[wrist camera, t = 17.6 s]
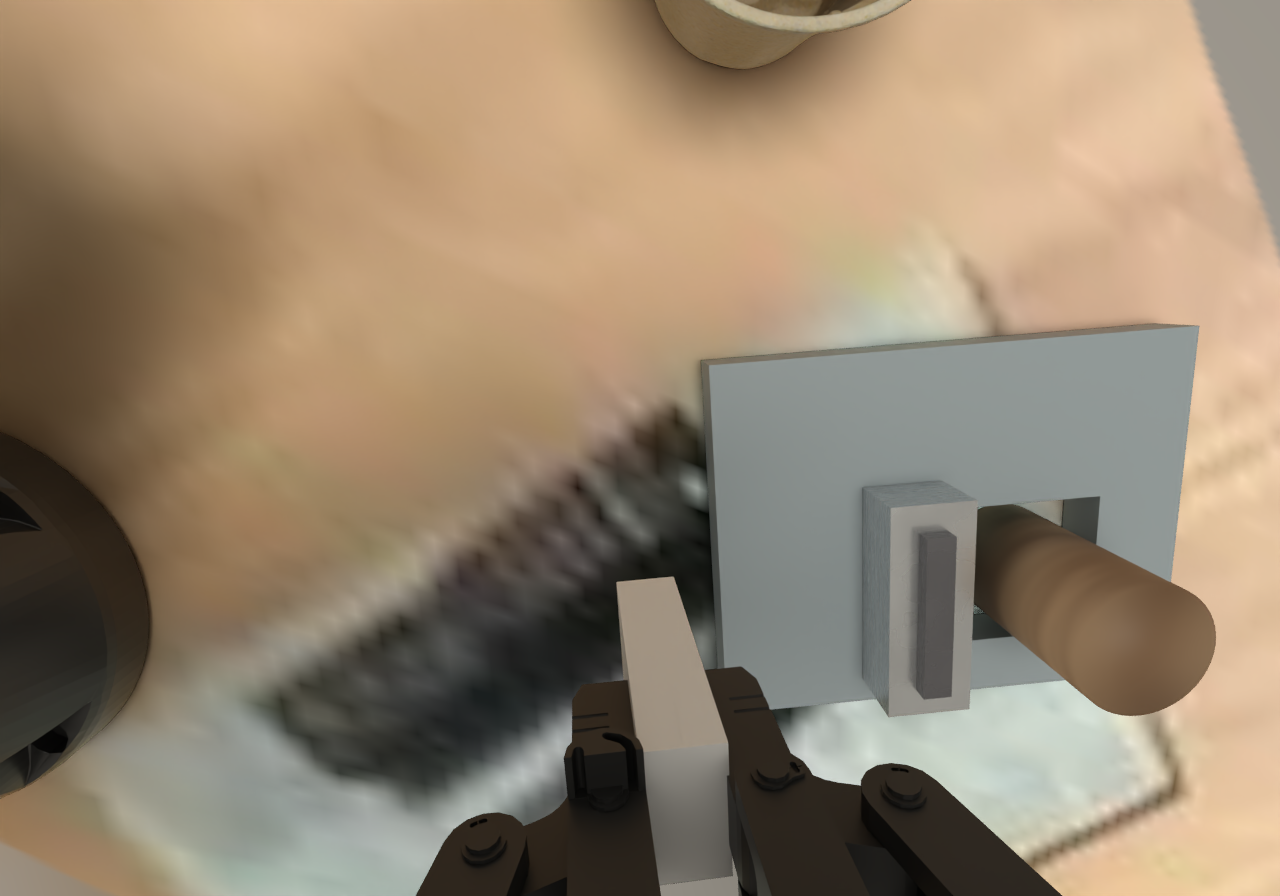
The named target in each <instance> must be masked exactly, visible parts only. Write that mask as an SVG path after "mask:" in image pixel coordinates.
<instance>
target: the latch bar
mask: <svg viewBox="0 0 1280 896" xmlns="http://www.w3.org/2000/svg"><path fill="white" fill-rule="evenodd" d="M977 506H978V500H976V499H974V498H973V497H971V496H969V495H967V494H965V493H963V492H962V491H960V490H958V489H956V488H954V487H952V486H951V485H949V484H947V483H945V482H943V481H930V482H919V483H908V484H896V485H885V486H874V487H863V680H864V681H865V683H866V684H867V686H868V687H869V689H870V690H871V692H872V693H873V695H874V696H875V698H876V699H877V701H878V702H879V703H880V705H881V706H882V708H883V709H884V711H885V712H886V714H887V715H888V717H894V716H904V715H914V714H924V713H934V712H944V711H954V710H964V709H969V704H970V679H971V655H972V630H973V605H974V581H975V556H976V531H977Z"/></svg>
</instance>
